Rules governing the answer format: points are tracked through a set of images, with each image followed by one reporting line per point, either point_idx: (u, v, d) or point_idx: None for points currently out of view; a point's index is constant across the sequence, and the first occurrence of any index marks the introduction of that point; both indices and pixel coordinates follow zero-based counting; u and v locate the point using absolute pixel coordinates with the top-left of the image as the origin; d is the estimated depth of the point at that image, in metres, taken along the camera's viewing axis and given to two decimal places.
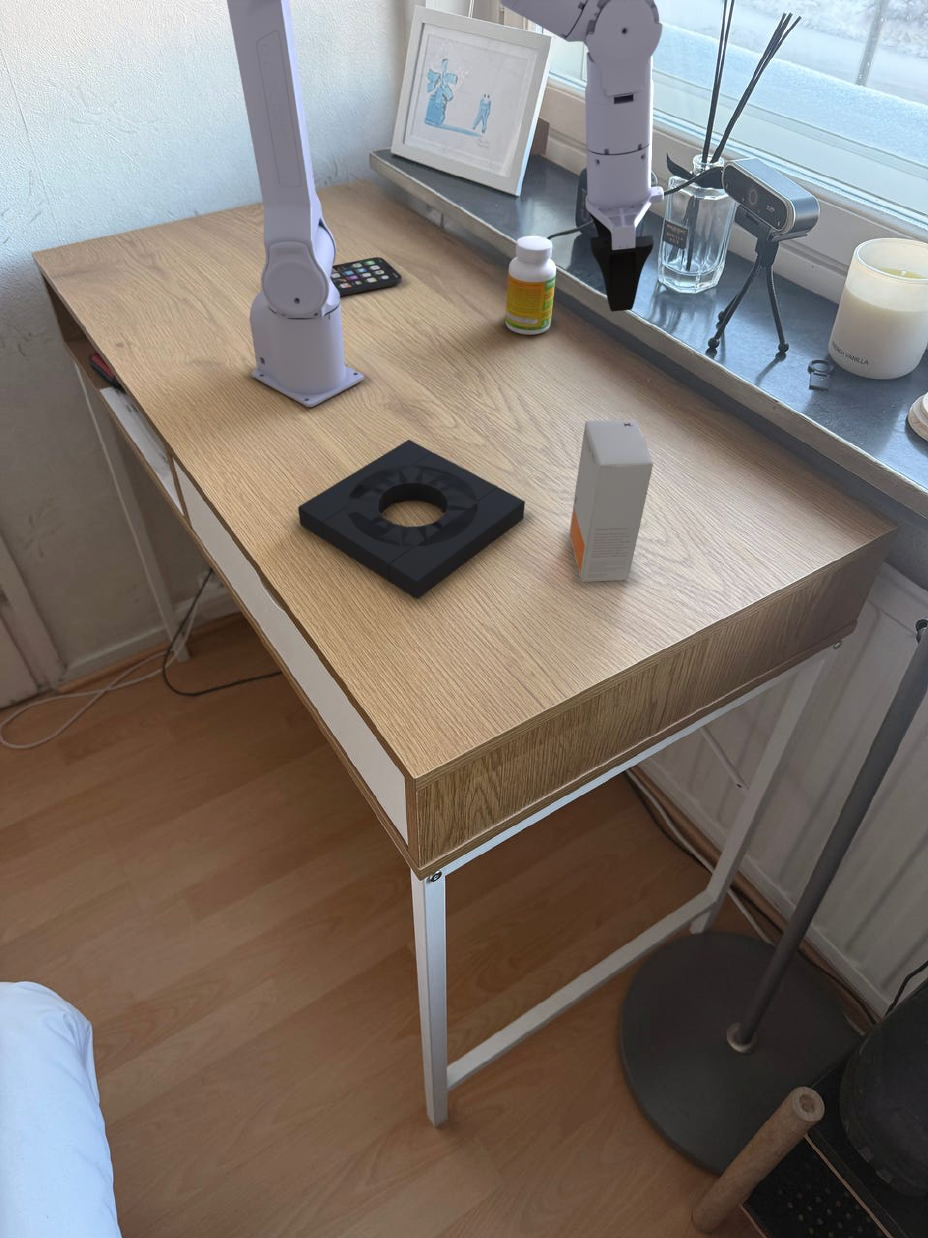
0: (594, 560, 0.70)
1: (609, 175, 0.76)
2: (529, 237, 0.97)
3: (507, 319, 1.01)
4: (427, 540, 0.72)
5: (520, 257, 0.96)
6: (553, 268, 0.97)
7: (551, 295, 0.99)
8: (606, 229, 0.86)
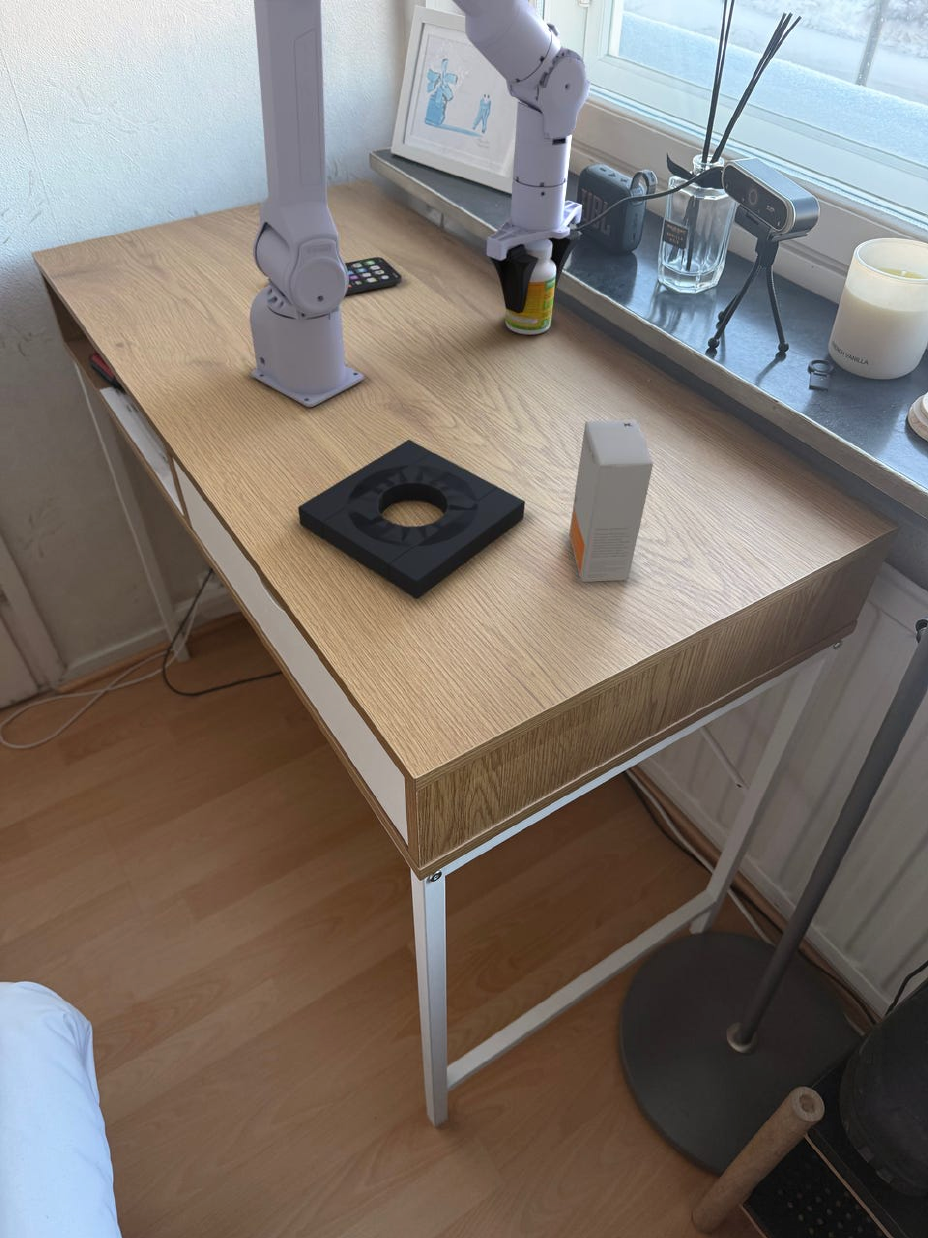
0: (594, 560, 0.70)
1: (515, 198, 0.91)
2: None
3: (507, 319, 1.01)
4: (427, 540, 0.72)
5: None
6: (554, 268, 0.97)
7: (551, 295, 0.99)
8: None
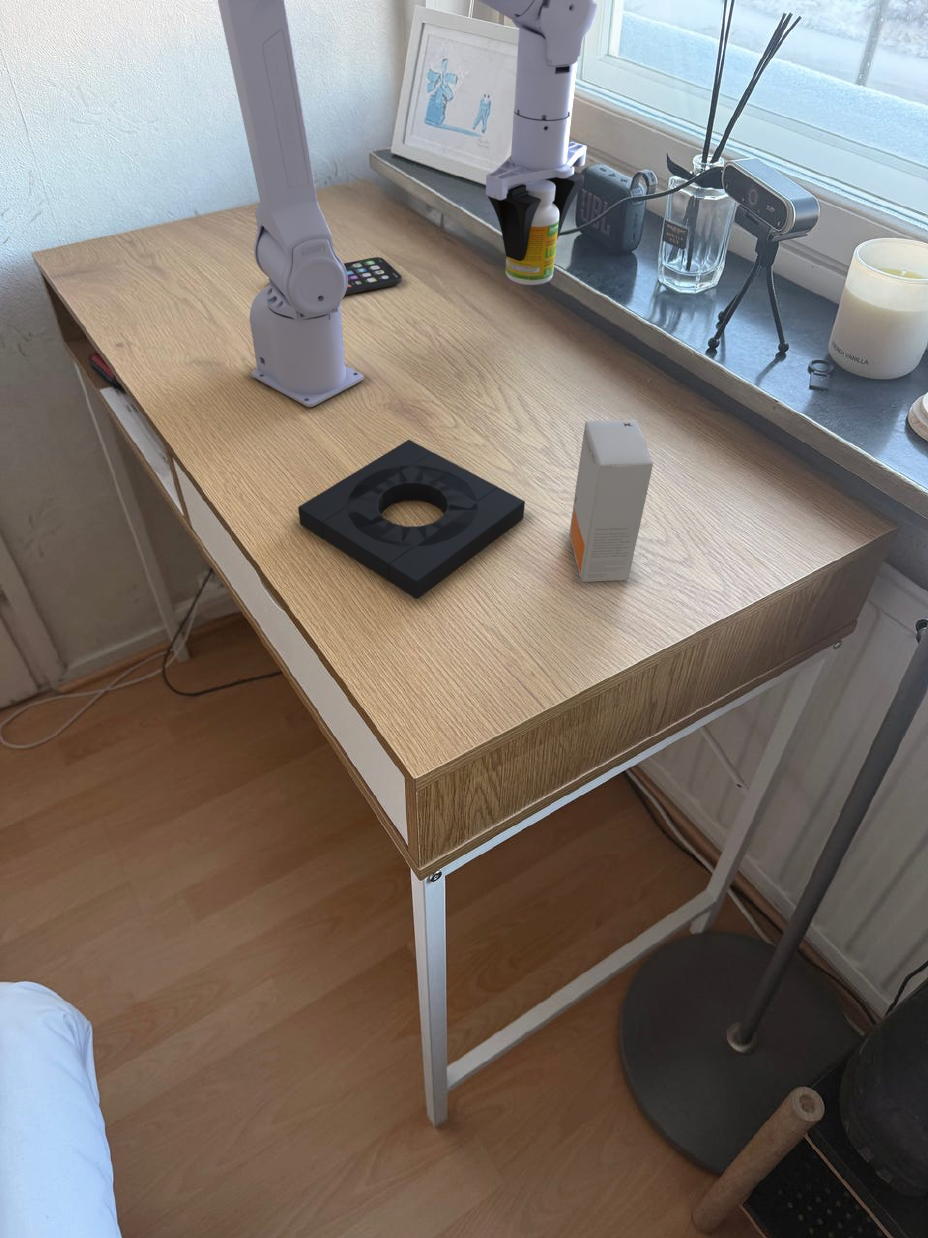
0: (594, 560, 0.70)
1: (517, 134, 0.86)
2: None
3: (507, 268, 0.96)
4: (427, 540, 0.72)
5: None
6: (557, 213, 0.92)
7: (554, 242, 0.94)
8: None
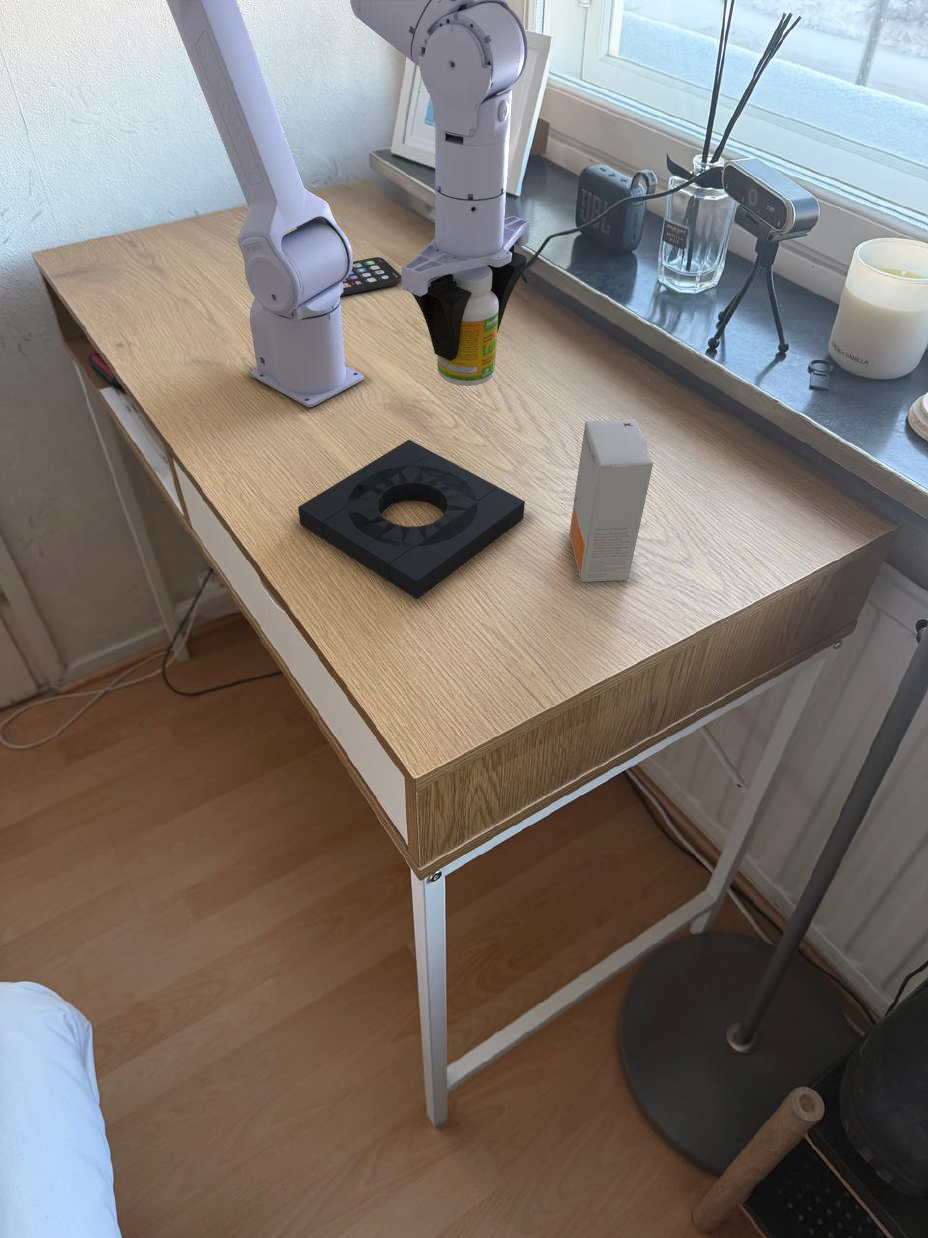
0: (594, 560, 0.70)
1: (439, 214, 0.70)
2: None
3: (439, 366, 0.80)
4: (427, 540, 0.72)
5: None
6: (495, 304, 0.76)
7: (493, 337, 0.77)
8: None
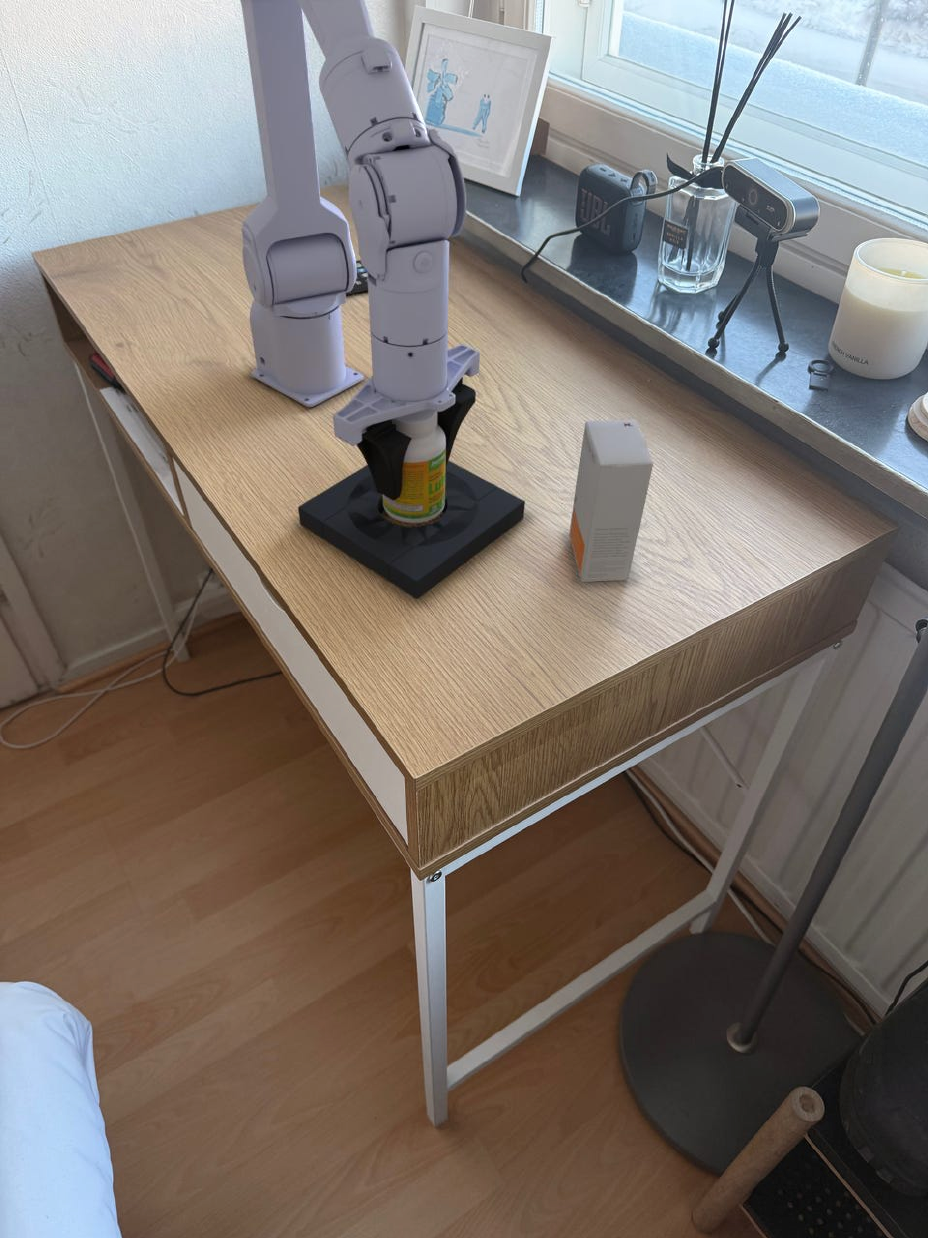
0: (594, 560, 0.70)
1: (374, 357, 0.64)
2: None
3: (384, 501, 0.74)
4: (427, 540, 0.72)
5: None
6: (441, 442, 0.70)
7: (440, 474, 0.72)
8: None
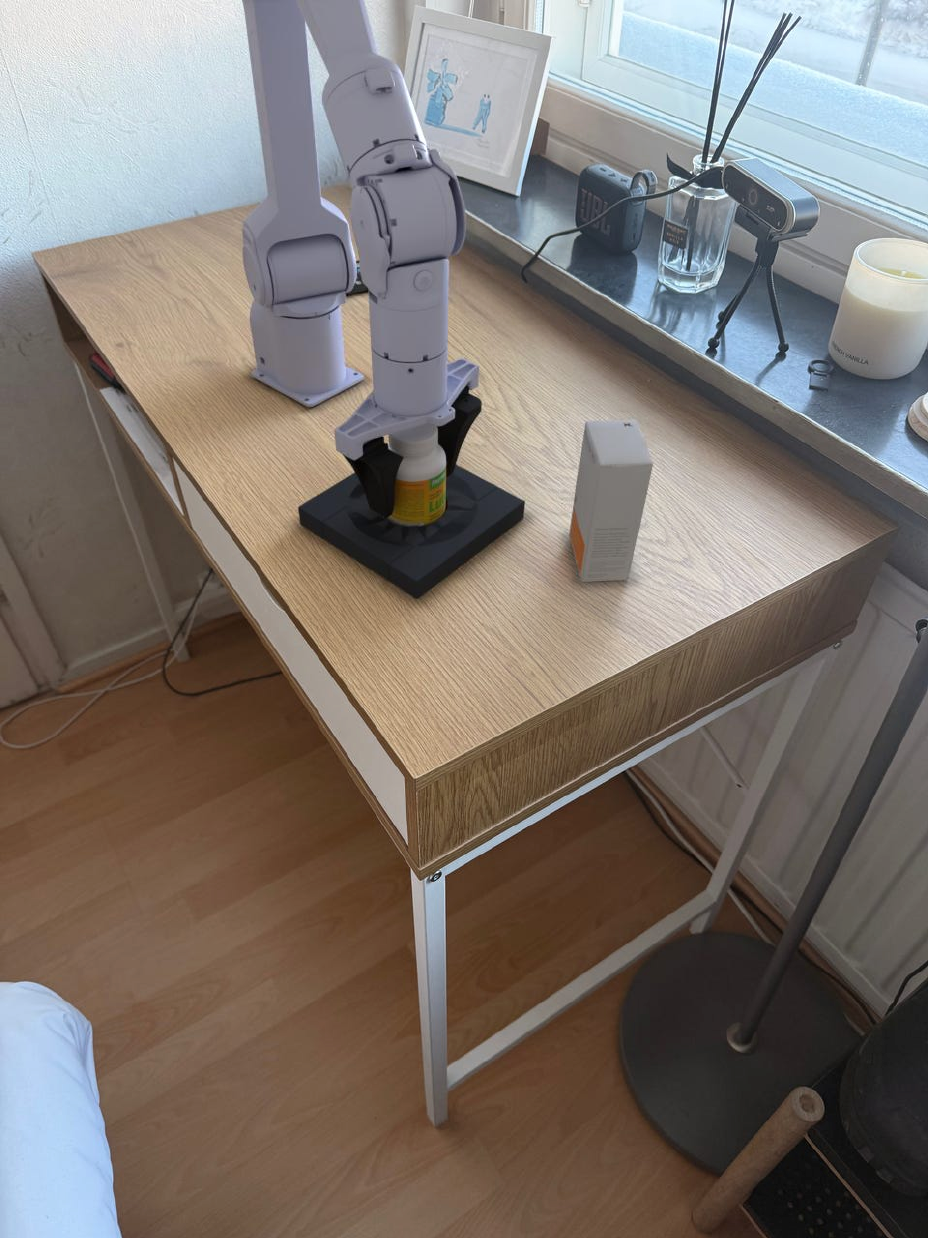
0: (594, 560, 0.70)
1: (375, 372, 0.65)
2: None
3: (385, 518, 0.75)
4: (427, 540, 0.72)
5: (393, 448, 0.70)
6: (441, 461, 0.71)
7: (441, 492, 0.73)
8: None
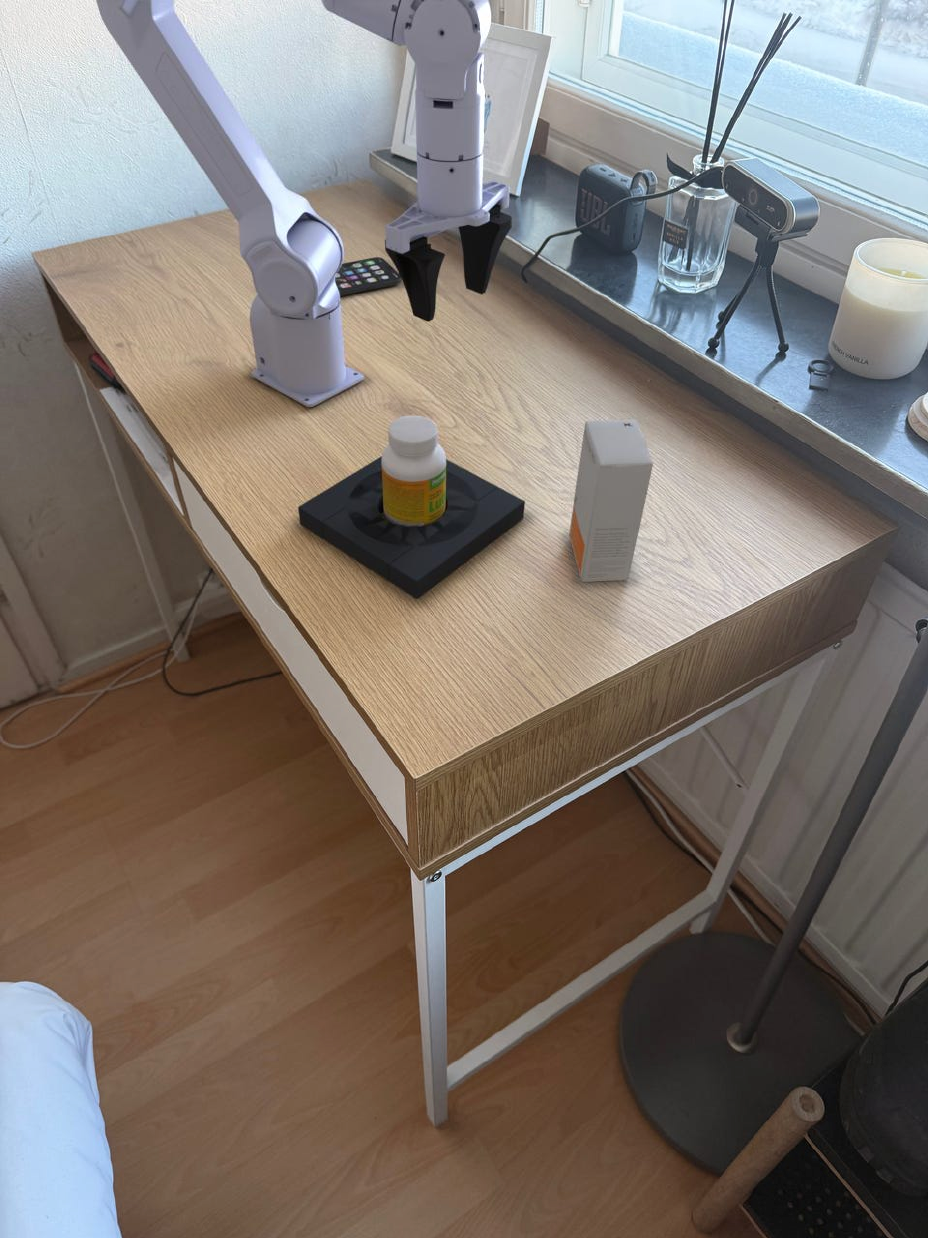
0: (594, 560, 0.70)
1: (420, 176, 0.74)
2: (407, 419, 0.71)
3: (385, 518, 0.75)
4: (427, 540, 0.72)
5: (393, 448, 0.70)
6: (441, 461, 0.71)
7: (441, 492, 0.73)
8: (468, 240, 0.83)
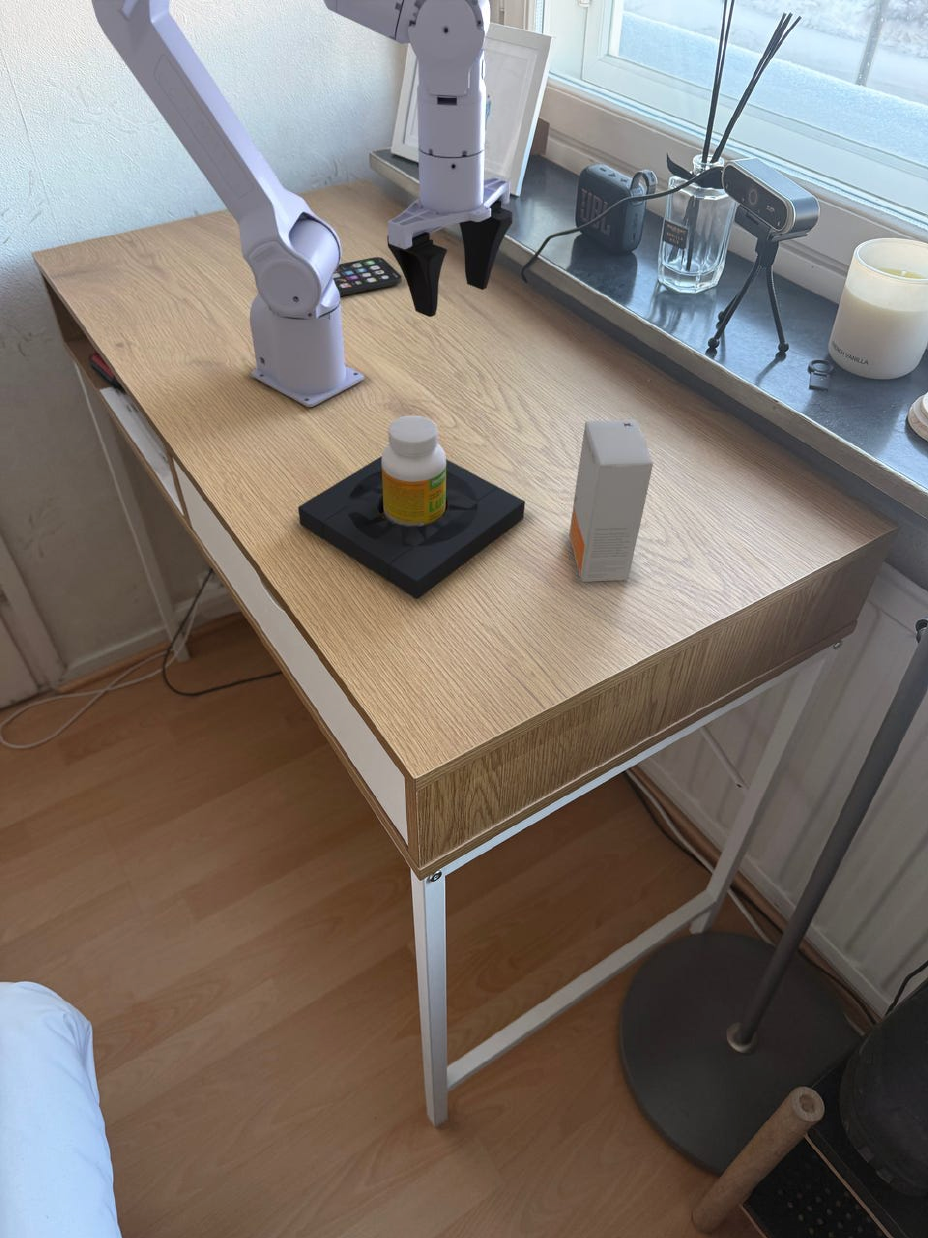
0: (594, 560, 0.70)
1: (422, 173, 0.75)
2: (407, 419, 0.71)
3: (385, 518, 0.75)
4: (427, 540, 0.72)
5: (393, 448, 0.70)
6: (441, 461, 0.71)
7: (441, 492, 0.73)
8: (469, 236, 0.83)
